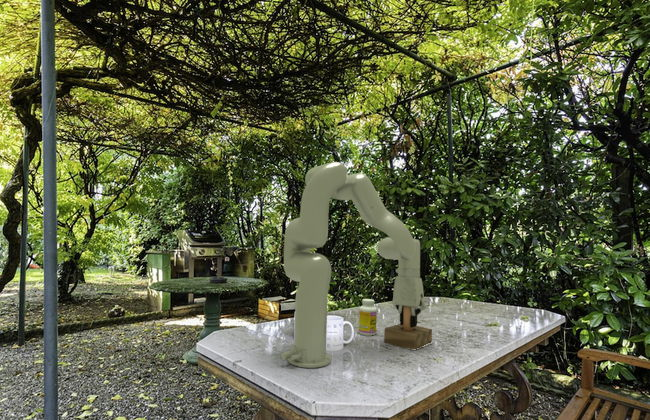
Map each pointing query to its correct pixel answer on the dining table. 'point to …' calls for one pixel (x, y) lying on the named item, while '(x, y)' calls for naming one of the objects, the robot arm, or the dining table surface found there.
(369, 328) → the supplement bottle
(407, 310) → the peg
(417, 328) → the socket block
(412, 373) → the dining table surface
